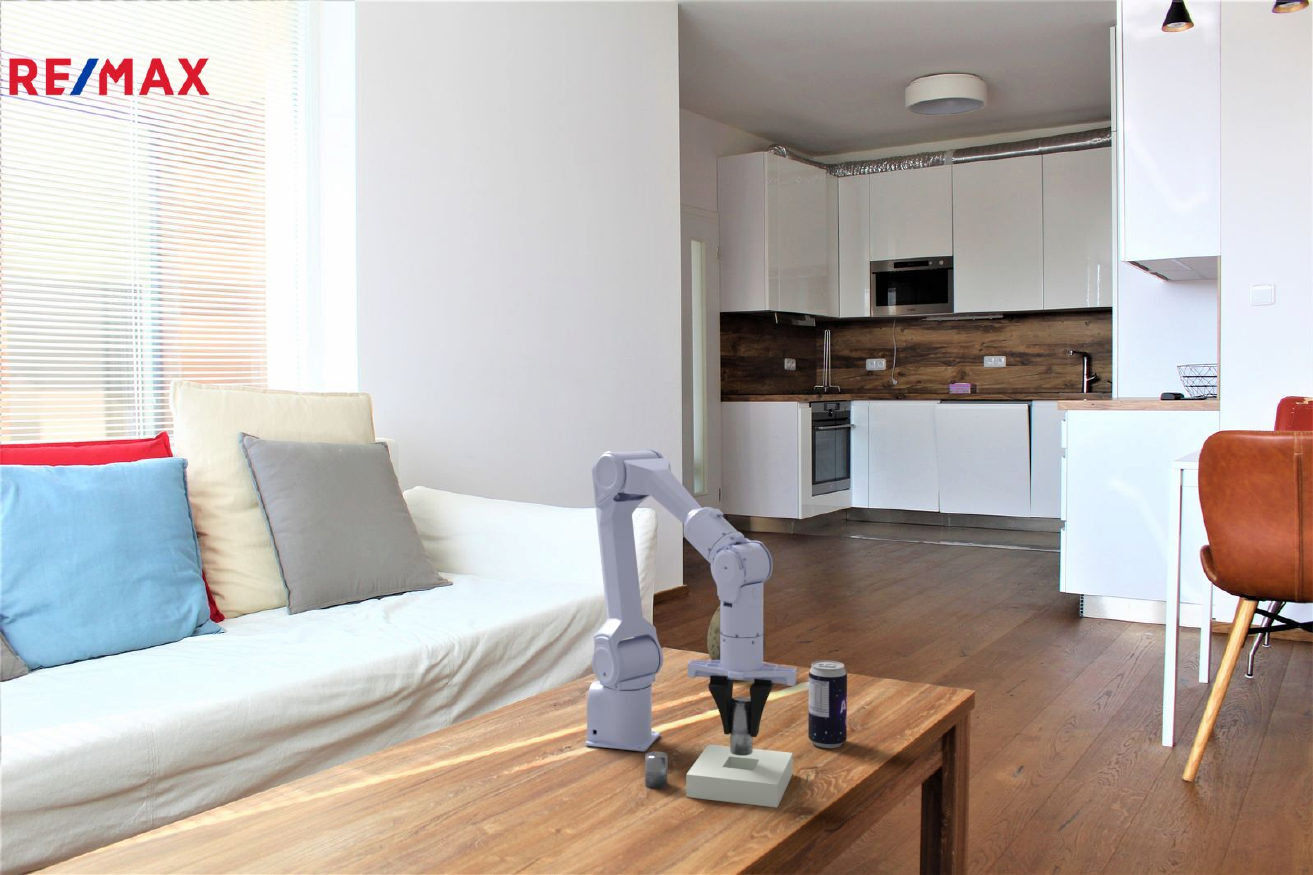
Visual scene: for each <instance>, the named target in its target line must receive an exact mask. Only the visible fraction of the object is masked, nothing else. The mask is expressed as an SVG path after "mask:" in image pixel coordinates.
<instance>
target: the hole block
mask: <svg viewBox="0 0 1313 875" xmlns="http://www.w3.org/2000/svg"><path fill="white" fill-rule="evenodd" d="M793 764H794V757H793V752H788V751H787V752H786V751H778V750H770V749H760V748H759V749H757V748H753V753H752V754H750V755H745V756H740V755H734V754H732V753H731V752H730V745H729V746H728V745H720V744H719V745H717V744H707V745H706V747H705V748H704V749H703V751H702V753H700V755H699V756H698V758H697V759H696V761H695V762H693V764H692V766H691V767H690V769H689V770H688V771H687V773H686V777H685V778H686V780H685V781H686V783H685V786H686V787H685V789H686V791H685V793H686V794H685V795H686V798H693V799H701V800H710V801H711V800H712V801H718V802H726V803H727V802H728V803H734V804H742V805H744V804H745V805H754V806H761V807H768V808H769V807H770V808H779V804H780V803H781V800H782V798H783V796H784V794H785V791H786V789H787V787H788V785H789V783H790V781H791V778H792V776H793V774H794V773H793V770H794V769H793V768H794V767H793Z"/></svg>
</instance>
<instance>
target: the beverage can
mask: <svg viewBox="0 0 1313 875" xmlns="http://www.w3.org/2000/svg"><path fill="white" fill-rule="evenodd" d="M847 701H848V673H847V671H846V668H845V664H844V663H842V662H840V661H834V660H816V661H814V662H812V663H811V667H810V669H809V671H808V718H807V719H808V722H807V723H808V725H807V726H808V730H807V731H808V734H807V737H808V739H809V740H810V741H811V742H812V743H813V745H814V746H815V747H816V746H817V748H818V747H819V748H823V749H835V748H839V747H840V746H842V744H843V743H845V742H846V741H847V735H848V734H847V731H848V730H847V727H848V726H847V725H848V723H847V722H848V720H847V719H848V717H847V716H848V702H847Z"/></svg>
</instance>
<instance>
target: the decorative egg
mask: <svg viewBox="0 0 1313 875" xmlns="http://www.w3.org/2000/svg"><path fill="white" fill-rule="evenodd" d="M720 615H721V604H720V605H718V607H717V609H716V610H715V612H714V614H713V616H712V618H711V620H710V624H709V626H708V632H707V635H706V636H707V637H706V638H707V639H706V642H707V644H706V645H707V650H708V656H709V658H710V659H711V660H720ZM765 651H766V634H765V629H764V628H763V657H764V655H765Z"/></svg>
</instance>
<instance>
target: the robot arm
mask: <svg viewBox="0 0 1313 875" xmlns="http://www.w3.org/2000/svg"><path fill="white" fill-rule="evenodd" d="M671 468H672V466H671V462H670V461H669V459H666V458H665V457H664V455H663V454H662V453H661V452H660V451H658V450H656V449H647V450H638V451H637V450H635V451H633V450H632V451H617V452H616V451H605V452H603V453H602V454H601V455H600V456H599V457H598V459H597V461H595V463H594V465H593V466H592V468H591V475H592V487H593V493H594V494H593V495H594V505H595V514H596V523H597V525H596V526H597V534H598V542H599V543H598V544H599V553H600V563H601V572H602V582H603V593H604V602H605V611H606V621H605V623H604V624H603V625H602V626H601V627H600V628H599V629H598V631H596V633H595V634H594V636H593V644H594V648H593V653H592V658H591V659H592V660H591V664H592V665H591V666H592V671H593V673H594V676H595V677H596V679H597V680H595V681H593V682H592V683H591V684H590V686H589V690H588V693H587V697H586V698H587V700H586V741H585V742H584V743H585V744H584V745H585V746H590V747H599V748H608V749H614V750H615V749H616V750H617V749H618V750H627V751H634V752H636V751H637V752H646V751H647V750H648V749H649V748H650V747H651V746H652V745H653V743H654V742H655V741H657V739H658V738H659V737H660V735H661V733H660V731H655V730H654V731H653V730H652V722H653V721H652V710H653V708H652V707H653V706H652V705H653V704H652V703H653V702H652V700H653V699H652V698H653V696H652V691H653V690H652V689H653V688H652V684H653V683H654V682H656V675H657V674H659V673H660V671H661V669H662V667H663V665H664V652H663V650H662V647H661V644H660V642H659V639H658V635H657V628H656V627H655V626H654V624H652V623H650V621H648V620H647V619H646V618H645V617H643V608H642V599H641V598H642V597H641V596H642V595H641V587H640V579H639V570H638V560H637V550H636V541H635V540H636V539H635V534H634V533H635V531H634V521H633V513H634V512H635V511H636V509H637V508H638V507H639V505H640V504H641V503H643V502H644V501H645V500H647V499H648V498H650V497H651V498H653V500H655V501H656V502H658V504H660V506H662V507H663V508H664V509H665V510H667V511H668V512H669V513H670V514H671V515H672V516H673V517H675V518H676V519H677V520H678V521H679V522H680V523H681V524H682V525H683V536H684V538H685V539H686V540H687V541H688V542H689V543H690V544H691V545H692V547H694V549H696V550H697V551H698V553H700V554H701V556H702V557H703V558H704V559H705V560H706V561H707V562H708V563H709V564H710V572H711V576H712V579H713V581H714V582H715V584H716V589H717V591H716V593H717V594H716V595H717V596H718V600H719V601H720V605H721V615H720V660H707V659H706V660H702V659H700V660H698V659H696V660H695V659H691V660H690V661H689V662H688V663H687V678H691V679H695V678H708V679H709V683H708V685H707V687H708V691H709V693H710V695H711V696H712V698H713V700H714V702H715V704H716V707H717V709H718V713H719V716H720V719H721V723H722V729H723V735H726V736H727V735H728V736H730V700H731V699H732V698H733V692H734V691H733V690H734V680H735V681H745V682H746V681H747V682H753V683H752V684H751V685H750V686H749V698H750V699H751V727H750V734H751V737H753V738H757V736H758V734H759V732H760V724H761V719H762V717H763V716H762V715H763V712H764V709H765V706H766V704H767V701H768V698H769V696H770V694H771V691H772V690H773V687H774V685H775V684H780V685H781V684H782V685H786V686H790V687H795V685H796V684H797V680H798V679H797V675H798V673H797V667H790V666H784V665H783V666H782V665H777V664H771V663H767V662H764V656H763V629H764V584H765V582H767V581H768V580H769V579H770V578H771V575H772V572H773V567H774V566H773V565H774V564H773V558H772V557H773V556H772V555H771V553H770V551H769V549H768V548H767V547H766V546H765V544H764V542H762V541H759V540H750V538H749V539H748V537H745V535H744V534H743V533H742V532H741V531H738V530H737V529H736V528H735V527H734V526H733V525H732V524H730V522H729V521H728V520H727V519H726V518H724V513H723V512H722V511H721V510H720V508H714V507H711V506H705V507H702V506H701V505H700V504H699V503H698V501H697V500H696V499H695V498H694V497H693V496H692V495H691V493H690V492H689V491H688V490H687V489H686V488H685V486H684V485H683V484H682V483H681V482H680V481H679V480H678V478H677V477H676V476H675V475H674V474H673V472H672V469H671Z"/></svg>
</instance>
